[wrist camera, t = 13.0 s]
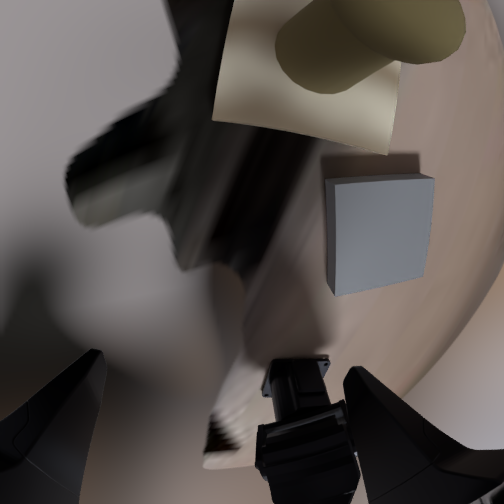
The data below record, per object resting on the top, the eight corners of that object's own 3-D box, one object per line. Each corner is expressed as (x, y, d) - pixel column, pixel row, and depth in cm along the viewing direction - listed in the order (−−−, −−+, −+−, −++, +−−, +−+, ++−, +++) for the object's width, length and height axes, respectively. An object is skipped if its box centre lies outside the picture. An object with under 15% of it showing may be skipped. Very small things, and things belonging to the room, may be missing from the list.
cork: (378, 58, 13) (501, 29, 4) (329, 113, 15) (453, 108, 5) (312, 0, 11) (390, -87, 2) (254, 52, 13) (292, -46, 3)
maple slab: (374, 152, 18) (387, 155, 17) (213, 120, 17) (211, 119, 15) (390, 22, 13) (403, 16, 12) (241, -20, 12) (242, -33, 10)
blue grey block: (409, 263, 24) (422, 276, 21) (325, 280, 23) (334, 296, 21) (417, 172, 20) (434, 178, 17) (323, 177, 20) (334, 184, 17)
